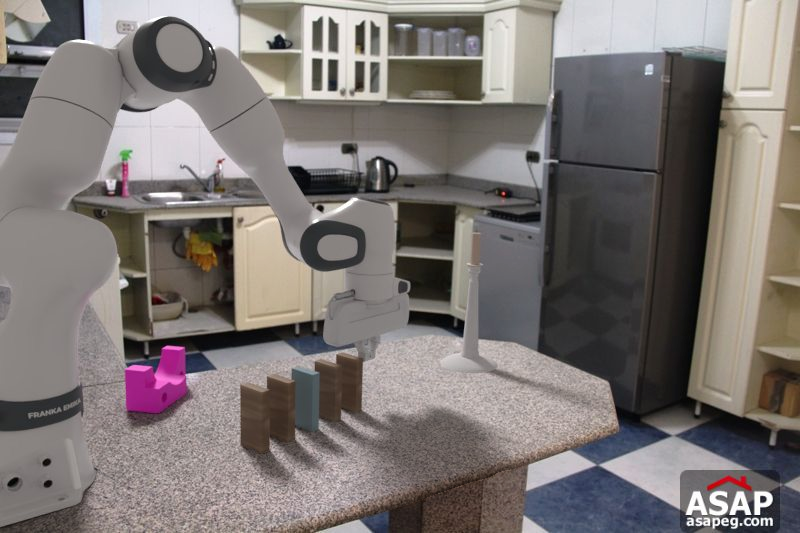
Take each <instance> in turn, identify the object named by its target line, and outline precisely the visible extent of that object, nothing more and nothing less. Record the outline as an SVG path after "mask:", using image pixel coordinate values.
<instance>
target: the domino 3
mask: <svg viewBox="0 0 800 533" xmlns="http://www.w3.org/2000/svg"><path fill="white" fill-rule="evenodd" d="M290 376H291V377H290V379H291V380H294V381H296V392H295V425H296V426H295V427H297V426H299V427H298V428H300V427H301V429H303V428H304V429H303V430H305V429H306V431H308V432H311V433H313V432H315V431H318V430H319V429H320V427H319V426H320V424H319V423H320V422H319V421H320V417H319V379H320V373H319V372H315V370H312V369H309V368H305V367H302V366H299V365H298V366H295V367H294V366H293V367H292V368H291V375H290ZM317 429H318V430H317Z"/></svg>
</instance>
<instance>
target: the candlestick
mask: <svg viewBox="0 0 800 533" xmlns="http://www.w3.org/2000/svg"><path fill="white" fill-rule="evenodd" d="M481 244H482V233H481V232H478V230H476V231H475V232H471V242H470V245H471V246H470V259H469V260H470V261H469V262H467V263H466V265H467V267H468V269H467V271H468V273H469V276H470V278H469V280H468V290H467V299H466V300H467V301H466V311H465V317H464V319H465V320H464V329H463V336H462V337H463V339H462V347H461V352H457V353H452V354H449V355H447V356H445V357H444V358H442V359H441V360H440V362H439V363H440V365H441V366H442V367H443V368H445V369H447V370H449V371H451V372H457V373H462V374H463V373H464V374H484V373H489V372H492V371H495V370H496V369H498V366H499V365H498V364H499V363H497V362H496V360H494V359H493V358H491V357H489V356H487V355H485V354H480V353H479V285H480V284H479V282H480V281H479V274H480V273H481V272H482V270H481V268H482V267H483V266H484V264H483V263H480V262H481V249H482V248H481V246H482V245H481Z"/></svg>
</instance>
